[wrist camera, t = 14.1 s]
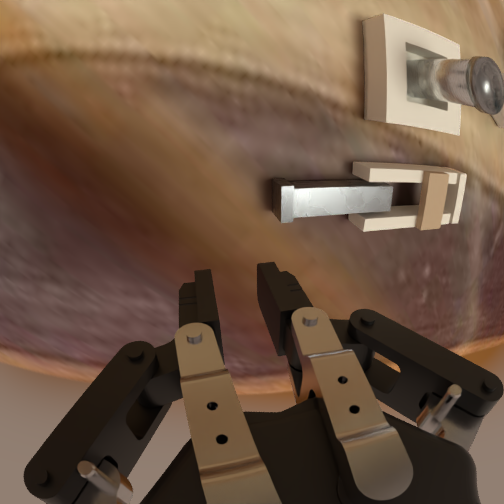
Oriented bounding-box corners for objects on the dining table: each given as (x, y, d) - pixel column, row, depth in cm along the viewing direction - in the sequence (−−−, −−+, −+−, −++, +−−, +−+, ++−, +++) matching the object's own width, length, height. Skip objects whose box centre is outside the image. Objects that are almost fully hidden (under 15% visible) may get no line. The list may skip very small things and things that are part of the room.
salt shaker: (393, 52, 21) (474, 49, 12) (427, 62, 21) (504, 66, 13) (394, 97, 23) (475, 108, 14) (427, 103, 23) (504, 119, 15)
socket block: (362, 21, 19) (383, 13, 16) (436, 46, 21) (459, 44, 18) (364, 119, 24) (386, 122, 21) (437, 130, 26) (459, 135, 22)
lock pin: (272, 178, 25) (281, 186, 22) (378, 176, 27) (394, 183, 24) (272, 211, 26) (281, 222, 24) (375, 205, 28) (390, 214, 26)
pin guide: (353, 161, 26) (376, 170, 22) (448, 167, 28) (472, 176, 24) (348, 219, 28) (368, 235, 25) (441, 213, 30) (463, 226, 27)
